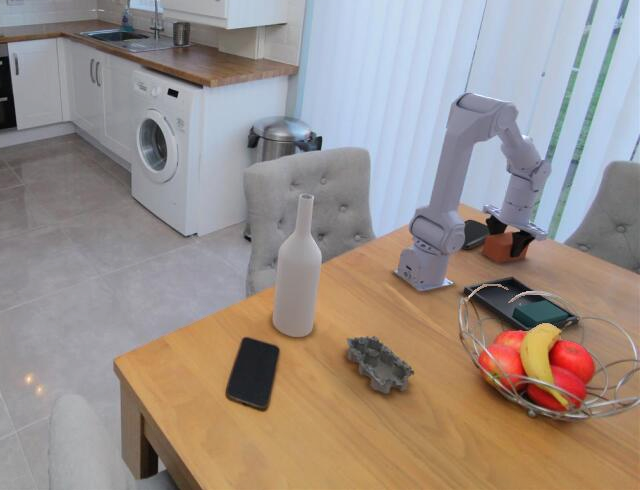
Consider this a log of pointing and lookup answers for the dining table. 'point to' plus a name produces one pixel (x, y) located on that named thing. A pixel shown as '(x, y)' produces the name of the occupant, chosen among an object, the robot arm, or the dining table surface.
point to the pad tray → (499, 298)
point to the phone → (474, 234)
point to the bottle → (297, 276)
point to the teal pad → (538, 313)
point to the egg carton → (379, 364)
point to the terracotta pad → (500, 247)
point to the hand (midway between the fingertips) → (504, 250)
